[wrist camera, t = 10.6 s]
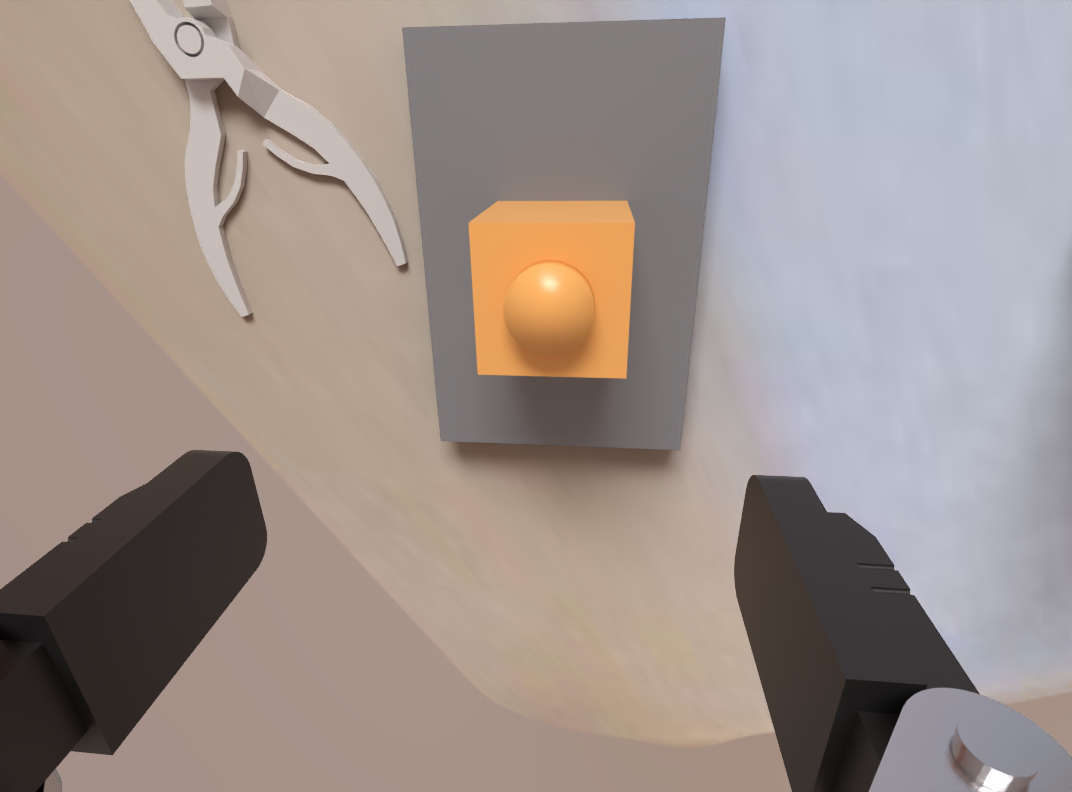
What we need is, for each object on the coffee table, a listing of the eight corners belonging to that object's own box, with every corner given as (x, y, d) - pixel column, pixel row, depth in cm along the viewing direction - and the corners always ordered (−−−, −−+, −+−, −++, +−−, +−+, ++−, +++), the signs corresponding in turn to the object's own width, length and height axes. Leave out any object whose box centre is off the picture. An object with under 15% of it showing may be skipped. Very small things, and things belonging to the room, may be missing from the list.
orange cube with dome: (627, 200, 24) (636, 228, 18) (620, 326, 26) (627, 389, 20) (497, 200, 25) (462, 227, 18) (502, 324, 27) (472, 385, 21)
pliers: (227, 323, 29) (38, -19, 24) (245, 314, 31) (70, -11, 25) (405, 265, 27) (243, -127, 21) (414, 258, 28) (266, -111, 23)
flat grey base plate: (715, 25, 23) (758, -11, 17) (675, 430, 30) (694, 508, 24) (416, 34, 24) (353, 4, 18) (449, 422, 32) (413, 494, 25)
